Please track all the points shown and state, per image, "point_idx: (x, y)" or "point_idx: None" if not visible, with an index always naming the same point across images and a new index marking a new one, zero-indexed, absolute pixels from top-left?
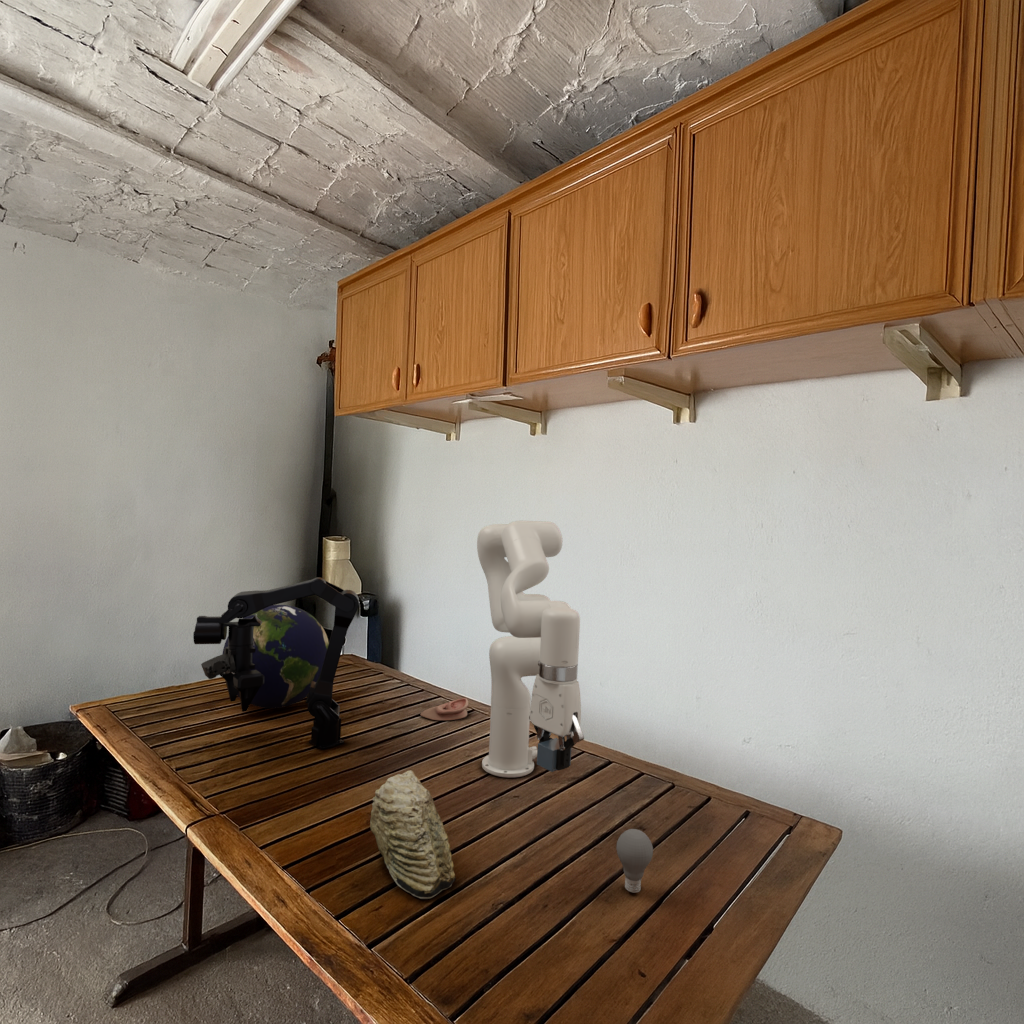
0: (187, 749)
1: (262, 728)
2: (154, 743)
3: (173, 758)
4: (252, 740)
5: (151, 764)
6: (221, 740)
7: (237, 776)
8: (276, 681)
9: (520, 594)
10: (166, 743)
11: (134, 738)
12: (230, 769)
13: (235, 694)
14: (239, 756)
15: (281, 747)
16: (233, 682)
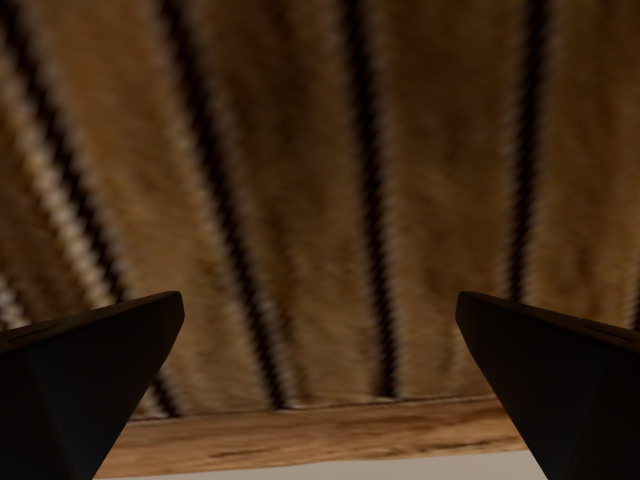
0: (241, 345)
1: (124, 27)
2: (138, 405)
3: (297, 388)
4: (268, 129)
5: (309, 434)
6: (206, 236)
7: (570, 279)
8: None
9: None
10: (154, 381)
11: None
12: (499, 282)
13: (158, 320)
14: (409, 226)
15: (430, 38)
16: (74, 428)
